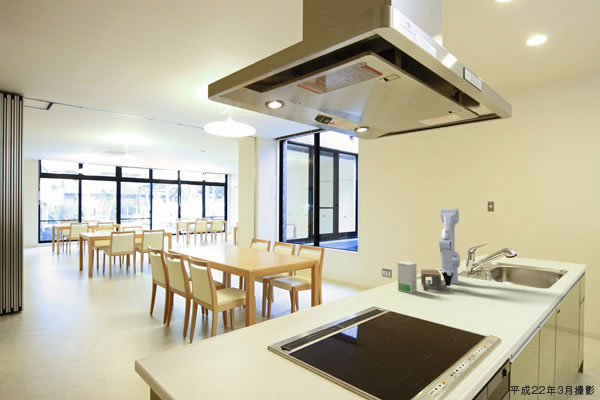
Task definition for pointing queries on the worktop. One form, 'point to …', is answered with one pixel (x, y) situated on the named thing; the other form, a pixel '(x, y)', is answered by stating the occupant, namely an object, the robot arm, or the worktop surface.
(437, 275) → the walnut shelf
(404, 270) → the skincare box
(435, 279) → the grey plastic caddy
